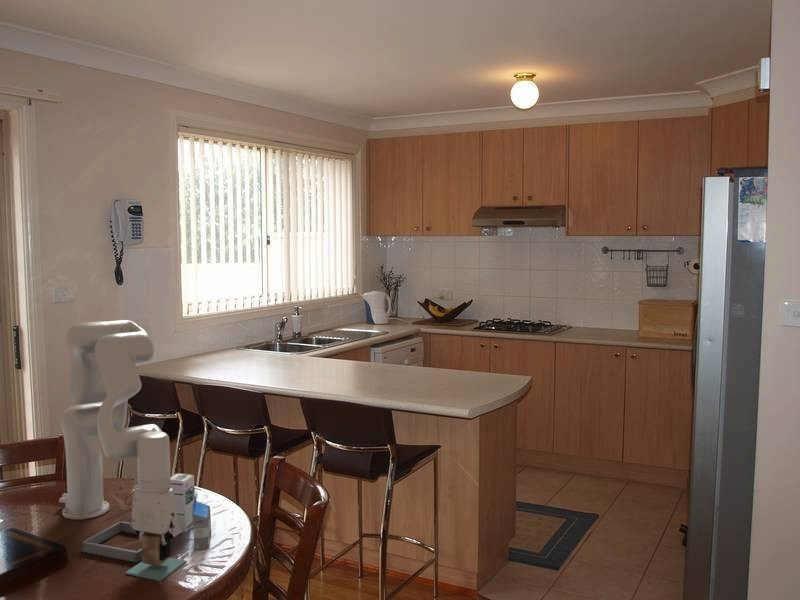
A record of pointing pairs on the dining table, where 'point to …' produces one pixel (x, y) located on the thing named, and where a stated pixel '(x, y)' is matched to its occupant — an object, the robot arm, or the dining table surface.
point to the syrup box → (183, 499)
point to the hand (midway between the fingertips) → (156, 555)
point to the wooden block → (151, 549)
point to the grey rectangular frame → (95, 548)
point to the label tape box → (201, 525)
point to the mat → (156, 569)
